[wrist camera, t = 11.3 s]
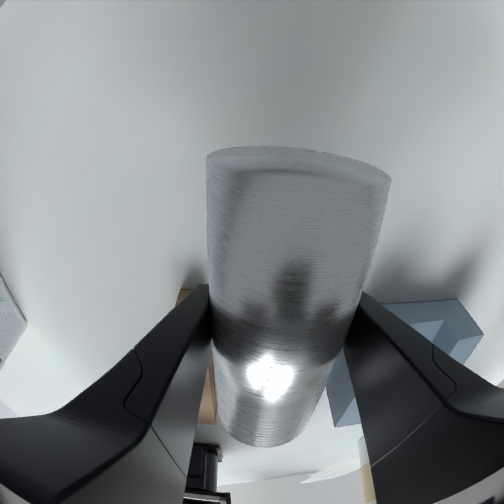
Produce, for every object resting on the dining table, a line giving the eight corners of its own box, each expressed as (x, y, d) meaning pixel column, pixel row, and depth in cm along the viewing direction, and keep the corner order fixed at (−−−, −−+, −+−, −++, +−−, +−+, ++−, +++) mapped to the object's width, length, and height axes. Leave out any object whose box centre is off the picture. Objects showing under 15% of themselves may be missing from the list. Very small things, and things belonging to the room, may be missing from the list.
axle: (303, 371, 12) (315, 443, 9) (219, 371, 12) (215, 446, 9) (351, 154, 8) (428, 198, 4) (216, 143, 7) (190, 178, 4)
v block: (413, 373, 21) (427, 407, 17) (325, 386, 20) (334, 427, 17) (457, 298, 16) (484, 334, 13) (357, 305, 16) (379, 353, 13)
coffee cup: (363, 428, 26) (385, 532, 13) (421, 414, 27) (450, 503, 14) (342, 452, 31) (356, 536, 18) (394, 440, 31) (413, 517, 18)
